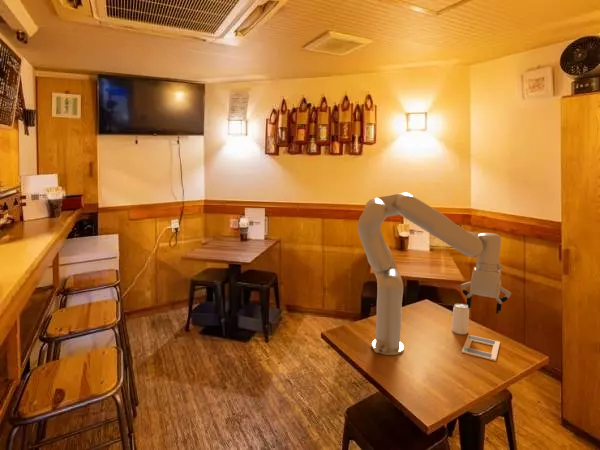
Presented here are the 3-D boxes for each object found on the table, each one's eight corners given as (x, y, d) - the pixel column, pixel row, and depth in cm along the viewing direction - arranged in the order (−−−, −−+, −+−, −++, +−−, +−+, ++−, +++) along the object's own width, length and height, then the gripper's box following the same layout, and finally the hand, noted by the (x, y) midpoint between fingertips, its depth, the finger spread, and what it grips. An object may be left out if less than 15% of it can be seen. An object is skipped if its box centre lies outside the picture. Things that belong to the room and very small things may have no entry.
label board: (495, 361, 142) (496, 359, 142) (461, 352, 149) (461, 350, 148) (499, 343, 156) (500, 341, 155) (468, 335, 162) (468, 334, 162)
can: (464, 328, 169) (466, 303, 166) (469, 335, 162) (471, 308, 160) (449, 327, 169) (451, 302, 167) (454, 334, 163) (455, 308, 161)
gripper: (514, 267, 139) (509, 311, 143) (463, 260, 148) (460, 301, 152) (513, 272, 133) (508, 318, 136) (460, 265, 142) (457, 308, 145)
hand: (483, 309), depth 144 cm, fingers open, 9 cm apart
